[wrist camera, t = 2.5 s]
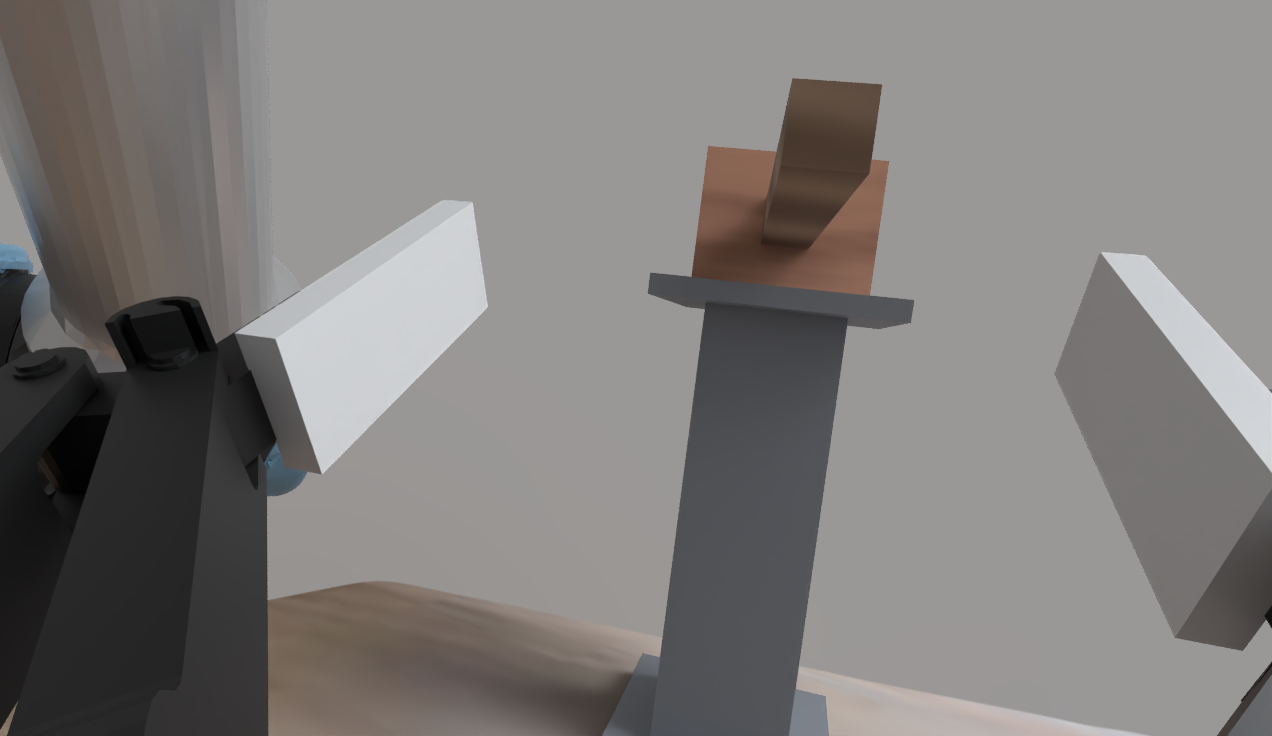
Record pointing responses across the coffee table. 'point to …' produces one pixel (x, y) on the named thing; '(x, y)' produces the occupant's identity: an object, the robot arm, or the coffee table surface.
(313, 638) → the coffee table surface
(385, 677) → the coffee table surface
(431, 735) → the coffee table surface
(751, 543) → the plinth
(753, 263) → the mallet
